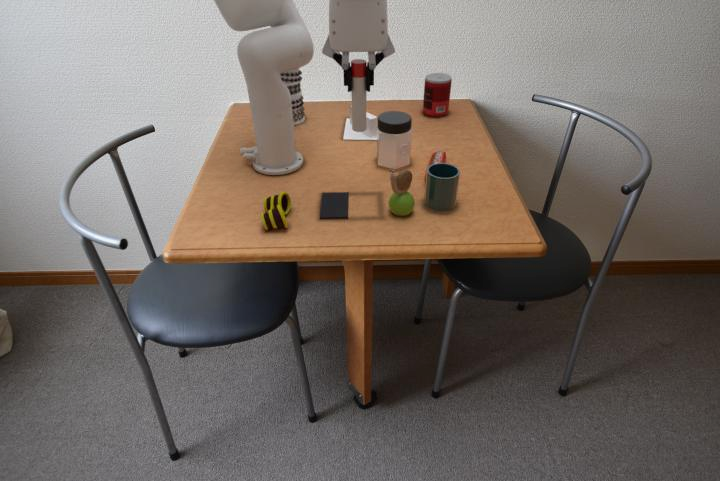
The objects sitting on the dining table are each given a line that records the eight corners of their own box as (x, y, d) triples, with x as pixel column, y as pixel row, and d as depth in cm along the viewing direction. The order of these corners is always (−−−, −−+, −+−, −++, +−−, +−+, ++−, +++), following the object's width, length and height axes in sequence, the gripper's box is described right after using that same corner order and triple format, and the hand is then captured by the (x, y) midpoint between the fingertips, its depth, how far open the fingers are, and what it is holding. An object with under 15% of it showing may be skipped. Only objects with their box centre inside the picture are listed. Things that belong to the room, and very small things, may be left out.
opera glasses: (270, 210, 104) (262, 191, 101) (293, 205, 104) (286, 186, 101) (265, 236, 97) (256, 216, 94) (290, 231, 96) (282, 211, 93)
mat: (319, 219, 100) (319, 217, 100) (322, 194, 108) (322, 192, 108) (381, 218, 100) (381, 216, 100) (379, 193, 108) (379, 191, 108)
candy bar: (432, 157, 122) (433, 147, 120) (446, 159, 121) (447, 148, 119) (422, 189, 109) (423, 177, 108) (438, 191, 109) (439, 179, 107)
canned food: (452, 111, 147) (456, 75, 140) (441, 119, 141) (445, 83, 135) (429, 106, 150) (432, 71, 143) (418, 114, 145) (420, 78, 138)
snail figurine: (379, 215, 101) (380, 165, 94) (399, 204, 104) (402, 154, 97) (398, 226, 98) (401, 175, 90) (419, 214, 101) (423, 163, 94)
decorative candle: (271, 117, 144) (260, 29, 129) (300, 111, 147) (292, 25, 132) (280, 128, 138) (269, 37, 122) (310, 122, 141) (303, 33, 126)
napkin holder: (384, 139, 131) (384, 120, 127) (342, 139, 131) (342, 119, 128) (383, 118, 143) (384, 99, 139) (346, 118, 143) (345, 99, 140)
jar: (388, 173, 115) (389, 127, 108) (369, 161, 121) (369, 116, 114) (417, 164, 119) (420, 118, 112) (397, 151, 125) (399, 107, 117)
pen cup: (426, 213, 101) (429, 178, 96) (422, 196, 107) (425, 163, 102) (457, 213, 101) (462, 178, 96) (452, 196, 107) (456, 162, 102)
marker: (352, 132, 92) (350, 63, 84) (352, 126, 94) (350, 59, 87) (366, 132, 92) (366, 63, 84) (366, 126, 94) (366, 58, 87)
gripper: (405, -27, 80) (400, 82, 92) (309, -26, 80) (316, 83, 91) (409, -19, 74) (404, 96, 86) (306, -18, 74) (313, 97, 86)
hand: (358, 88), depth 88 cm, fingers closed on marker, 2 cm apart
